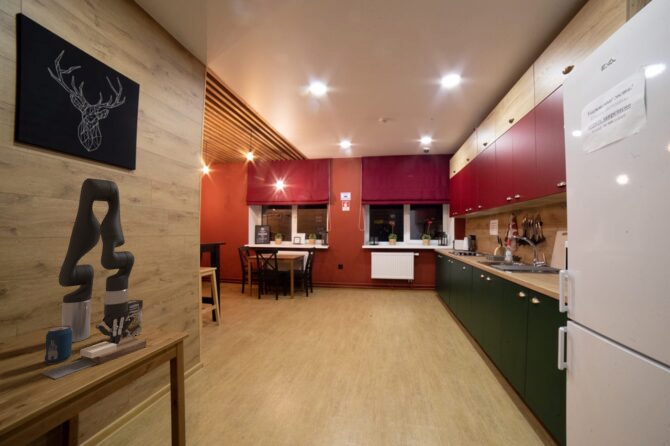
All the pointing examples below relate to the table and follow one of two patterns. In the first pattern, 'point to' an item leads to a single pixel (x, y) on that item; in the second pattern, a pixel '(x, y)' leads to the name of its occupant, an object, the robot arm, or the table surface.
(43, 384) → the table surface
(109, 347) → the tile
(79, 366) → the mat
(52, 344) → the soda can
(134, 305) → the coffee box
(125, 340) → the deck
